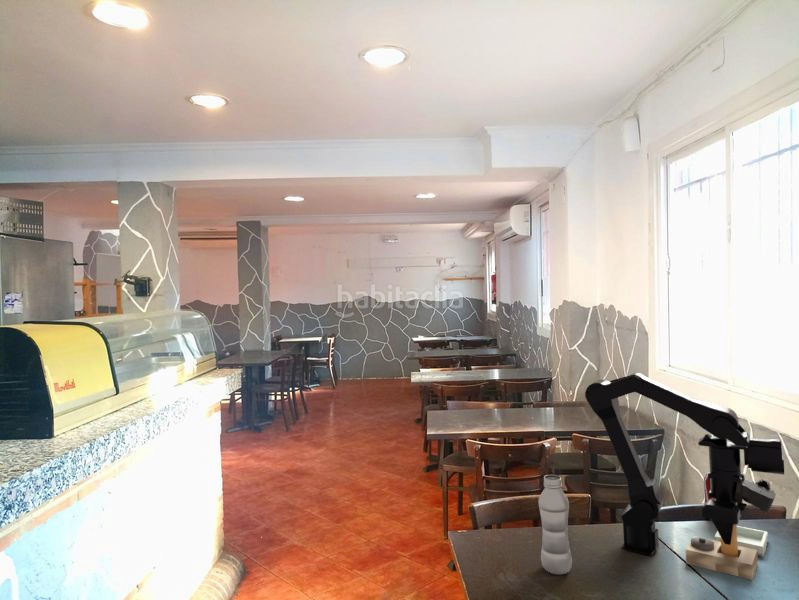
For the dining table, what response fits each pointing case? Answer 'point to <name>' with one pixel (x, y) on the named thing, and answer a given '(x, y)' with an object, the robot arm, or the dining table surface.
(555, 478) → the plastic bottle
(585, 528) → the dining table surface
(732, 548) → the pin
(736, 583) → the dining table surface
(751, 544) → the tray
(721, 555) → the block
